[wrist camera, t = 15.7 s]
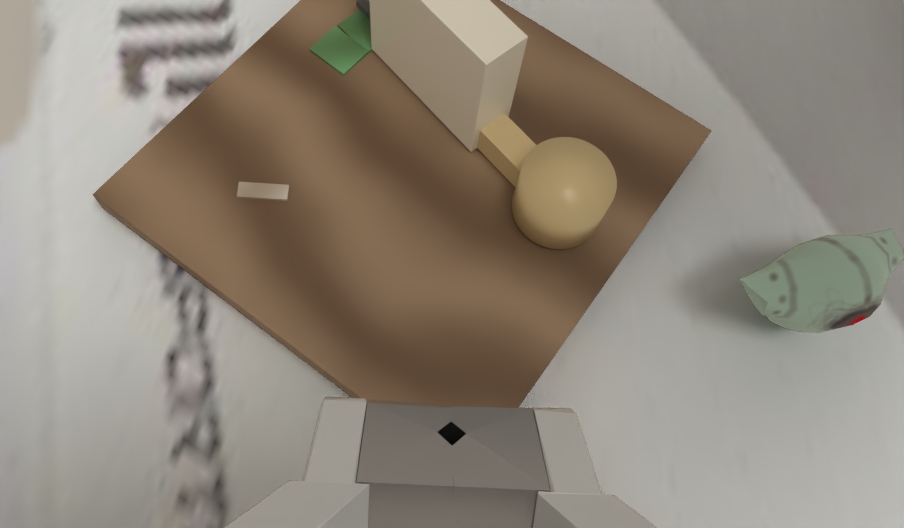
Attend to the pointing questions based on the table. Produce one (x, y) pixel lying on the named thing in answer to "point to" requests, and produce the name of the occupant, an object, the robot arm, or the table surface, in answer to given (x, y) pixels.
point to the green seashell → (826, 281)
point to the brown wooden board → (392, 208)
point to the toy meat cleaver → (493, 110)
